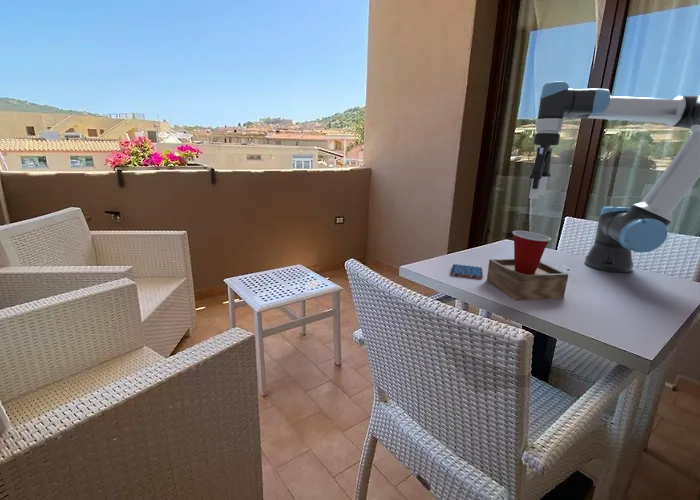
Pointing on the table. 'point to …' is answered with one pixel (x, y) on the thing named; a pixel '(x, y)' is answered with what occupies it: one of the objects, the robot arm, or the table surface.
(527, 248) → the plastic cup
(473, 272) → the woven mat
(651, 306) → the table surface
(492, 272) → the open wooden box
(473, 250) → the table surface
